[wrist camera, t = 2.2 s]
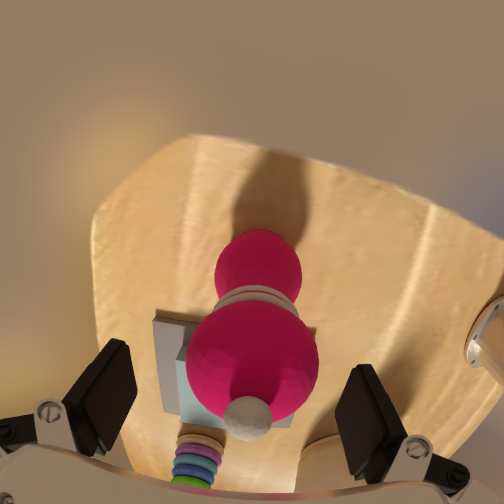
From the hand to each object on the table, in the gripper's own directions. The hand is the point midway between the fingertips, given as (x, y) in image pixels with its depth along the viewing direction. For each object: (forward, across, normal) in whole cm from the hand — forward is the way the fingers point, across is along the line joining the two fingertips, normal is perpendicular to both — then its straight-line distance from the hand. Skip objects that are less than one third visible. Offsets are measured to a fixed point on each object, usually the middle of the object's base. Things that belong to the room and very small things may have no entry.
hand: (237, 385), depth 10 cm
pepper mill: (+18, -1, 0) cm, 18 cm away
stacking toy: (+18, +5, +33) cm, 38 cm away
